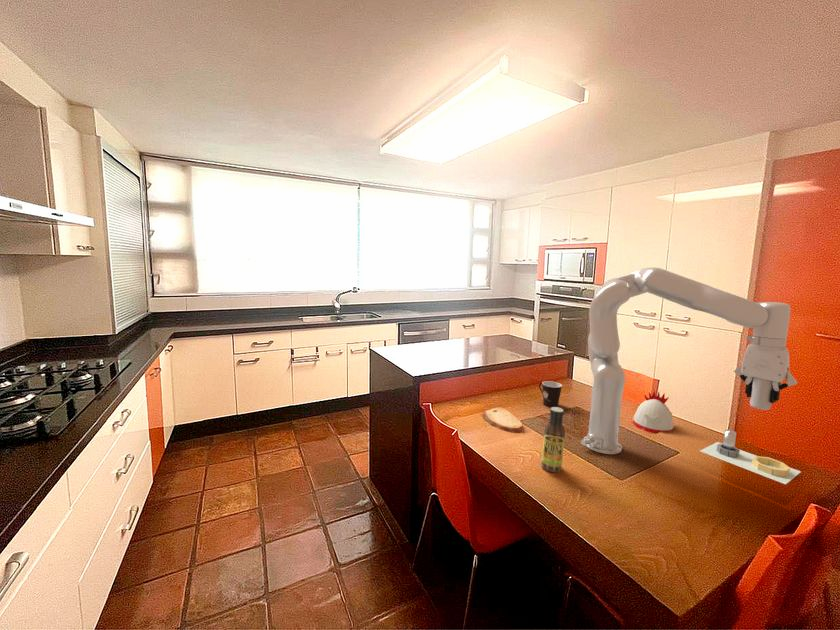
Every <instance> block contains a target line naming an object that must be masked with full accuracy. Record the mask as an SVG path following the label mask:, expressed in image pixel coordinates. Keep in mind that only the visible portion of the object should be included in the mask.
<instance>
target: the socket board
mask: <svg viewBox="0 0 840 630" xmlns="http://www.w3.org/2000/svg"><path fill="white" fill-rule="evenodd" d="M699 452H701V453H703V454H705V455H709V456H711V457H714V458H717V459H719V460H721V461H724V462H726V463H729V464H732V465H734V466H737V467H739V468H742V469H744V470H747V471H750V472H752V473H755V474H757V475H761V476H762V477H765V478H767V479H771V480H773V481H775V482H778V483H781V484H784V485H787V484H789V483H790V482H791V481H792V480H793V479H795V478H796V477H797V476H798V475H799V474H801V473H802V471H800V470H799V469H795V468H792V467H790V466H788V465H787V464H786V463H785V462H782V461H780V460H777V459H774V458H772V457H768V456H759V455H756V454H753V453H750V452H747V451H744V450H741V449H739V448H737V447H736V446H734V451H730V450H727V449H724V448H723V442H720V441H716V442H715V443H712V444H711V445H708V446H706V447H703V448H702V449H701V450H699Z"/></svg>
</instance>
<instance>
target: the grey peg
mask: <svg viewBox="0 0 840 630" xmlns="http://www.w3.org/2000/svg"><path fill="white" fill-rule="evenodd" d="M736 438H737V431H734V429H733V430H732V429H724V435H723V441H722V444H723V448H724V449H727V450H730V451H734V447H736V446H735V445H736Z"/></svg>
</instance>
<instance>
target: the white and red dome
mask: <svg viewBox="0 0 840 630" xmlns="http://www.w3.org/2000/svg"><path fill="white" fill-rule="evenodd" d="M655 391H656V390H653V393H652V394H651V392H648V396H647V395H646V394H644V399H645V400H643V402H641V404H640V405H639V406H638V407H637V409H636V411H635V413H634V416H633V418H632V419H633V420H632V424H633V425H634V426H635V427H636V428H638V429H640V430H642V431H644V432H648V433H652V434H659V433H662V432H672V431H673V430H674V419H673V416H672V415H673V413H672V412H671V410H670V409H669V407H668V406H667V405H666V402H667V401H668V400H669V397H670V396H668V397H666V398H665V394H666V393H665V392H663V394H662V396H660V391H658V393H657V396H656V392H655Z"/></svg>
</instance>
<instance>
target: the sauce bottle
mask: <svg viewBox="0 0 840 630" xmlns="http://www.w3.org/2000/svg"><path fill="white" fill-rule="evenodd" d="M549 413H550V414H549V416H550V417H549V422H548V423H547V424H546V425H545V428H544V433H543V439H542V440H543V442H542V452H541V467H542V468H543V469H544V470H546V471H548V472H552V473H559V472H560V471H561V469H562V465H563V457H564V449H565V441H566V438H565V436H566V429H565V428H564V425H563V418H564V415H565V411H564V409H563V408H561V407H550V410H549Z"/></svg>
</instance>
